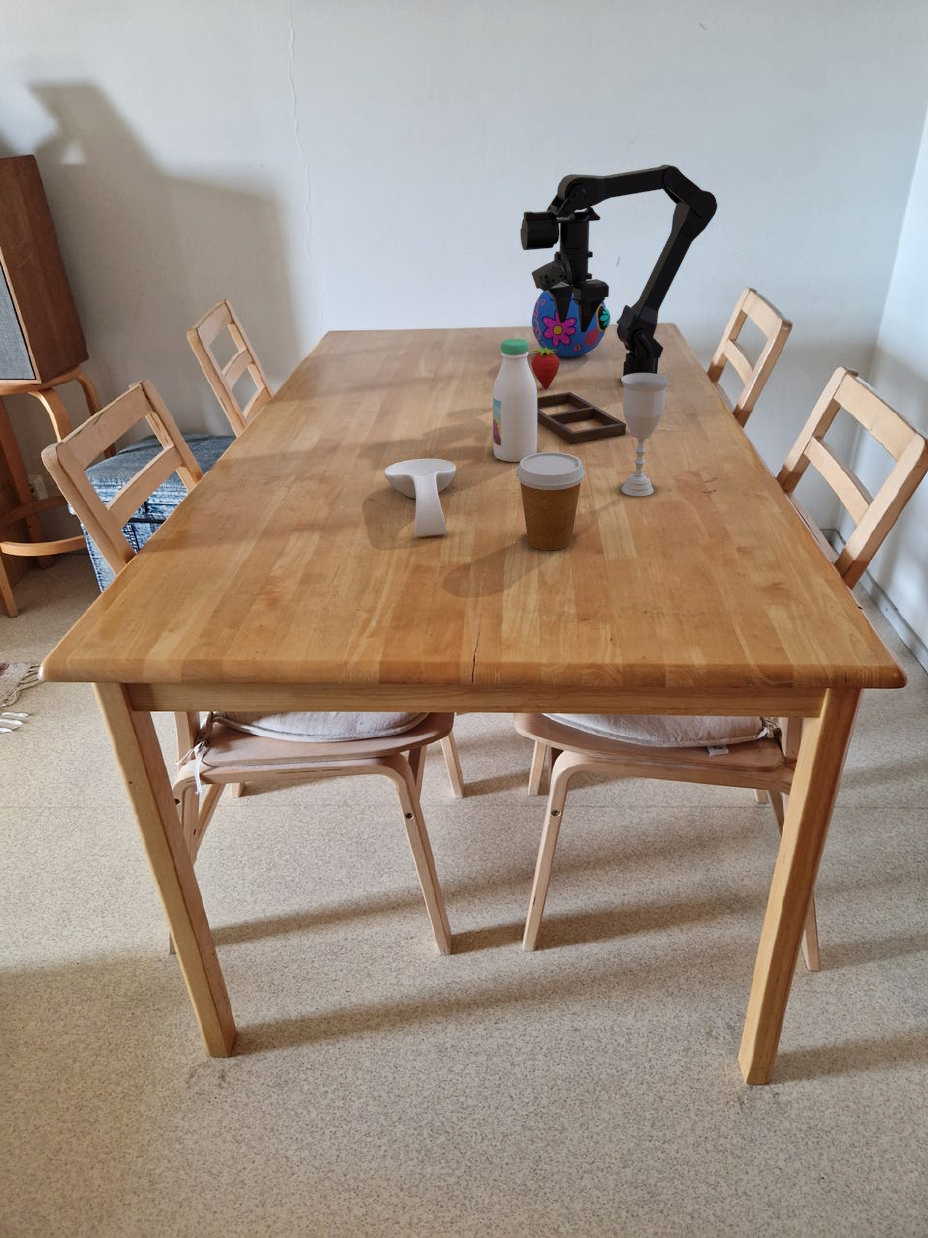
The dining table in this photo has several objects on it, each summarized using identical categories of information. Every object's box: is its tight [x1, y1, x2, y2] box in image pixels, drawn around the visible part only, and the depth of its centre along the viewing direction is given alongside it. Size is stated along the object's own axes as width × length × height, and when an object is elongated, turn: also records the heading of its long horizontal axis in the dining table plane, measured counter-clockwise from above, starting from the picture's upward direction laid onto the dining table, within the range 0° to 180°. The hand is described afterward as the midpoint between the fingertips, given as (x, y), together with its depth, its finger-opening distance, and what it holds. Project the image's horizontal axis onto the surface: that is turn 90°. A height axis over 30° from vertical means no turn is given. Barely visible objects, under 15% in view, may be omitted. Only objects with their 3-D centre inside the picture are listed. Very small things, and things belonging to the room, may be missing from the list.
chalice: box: [620, 373, 671, 497], centre depth 140 cm, size 7×7×18 cm
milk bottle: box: [492, 338, 538, 463], centre depth 154 cm, size 8×8×20 cm
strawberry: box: [531, 341, 560, 390], centre depth 189 cm, size 6×8×10 cm
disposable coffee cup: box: [516, 451, 586, 551], centre depth 127 cm, size 10×10×12 cm
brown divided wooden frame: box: [537, 391, 627, 445], centre depth 173 cm, size 11×22×2 cm, turn 22°
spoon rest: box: [383, 458, 457, 537], centre depth 140 cm, size 24×12×7 cm, turn 8°
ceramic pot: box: [531, 291, 611, 358], centre depth 210 cm, size 18×18×15 cm
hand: (572, 327), depth 184 cm, fingers open, 9 cm apart
